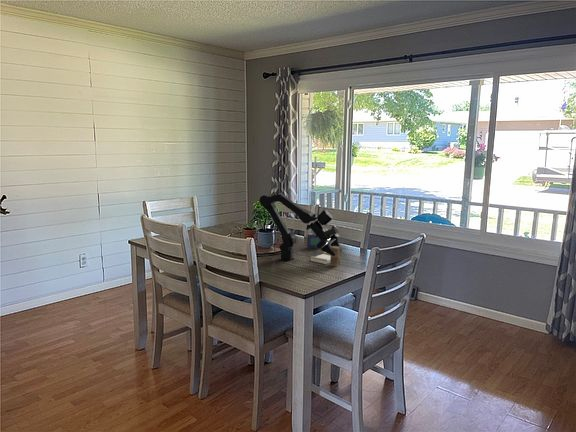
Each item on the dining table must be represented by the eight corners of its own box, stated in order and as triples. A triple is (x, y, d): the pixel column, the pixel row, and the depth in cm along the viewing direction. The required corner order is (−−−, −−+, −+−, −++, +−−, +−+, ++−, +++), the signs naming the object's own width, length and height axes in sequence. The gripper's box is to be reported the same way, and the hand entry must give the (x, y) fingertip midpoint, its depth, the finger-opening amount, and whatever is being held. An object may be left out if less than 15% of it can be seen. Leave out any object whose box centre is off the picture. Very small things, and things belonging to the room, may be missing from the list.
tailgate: (325, 264, 232) (325, 259, 232) (309, 260, 239) (309, 256, 238) (338, 258, 242) (338, 254, 242) (322, 255, 249) (322, 251, 248)
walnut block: (337, 266, 228) (337, 248, 226) (330, 265, 230) (330, 247, 228) (340, 264, 231) (340, 246, 229) (333, 263, 233) (333, 245, 231)
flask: (322, 247, 266) (322, 230, 264) (322, 249, 263) (322, 232, 261) (307, 247, 267) (307, 230, 265) (307, 249, 264) (307, 231, 262)
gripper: (322, 224, 220) (341, 248, 217) (336, 218, 236) (354, 240, 233) (308, 237, 225) (327, 261, 222) (322, 231, 241) (340, 253, 238)
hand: (338, 253), depth 228 cm, fingers open, 9 cm apart
